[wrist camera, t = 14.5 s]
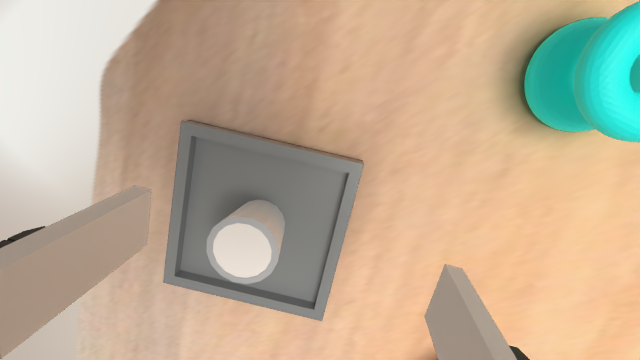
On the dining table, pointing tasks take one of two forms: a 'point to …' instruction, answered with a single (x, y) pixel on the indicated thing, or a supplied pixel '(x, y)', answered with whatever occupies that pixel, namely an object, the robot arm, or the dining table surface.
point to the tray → (264, 184)
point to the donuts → (589, 76)
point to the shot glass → (247, 242)
